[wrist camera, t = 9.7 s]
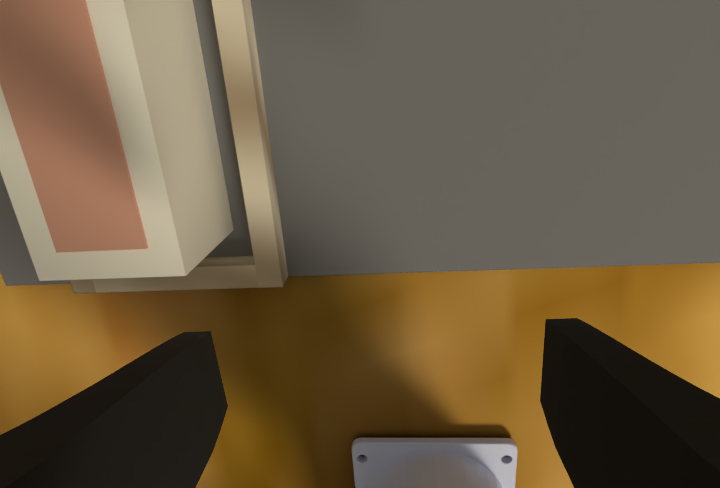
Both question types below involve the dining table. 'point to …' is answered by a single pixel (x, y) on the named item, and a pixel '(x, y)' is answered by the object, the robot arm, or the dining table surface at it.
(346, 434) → the dining table surface
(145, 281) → the frame
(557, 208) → the mat
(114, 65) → the card box
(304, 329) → the dining table surface
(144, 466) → the robot arm
